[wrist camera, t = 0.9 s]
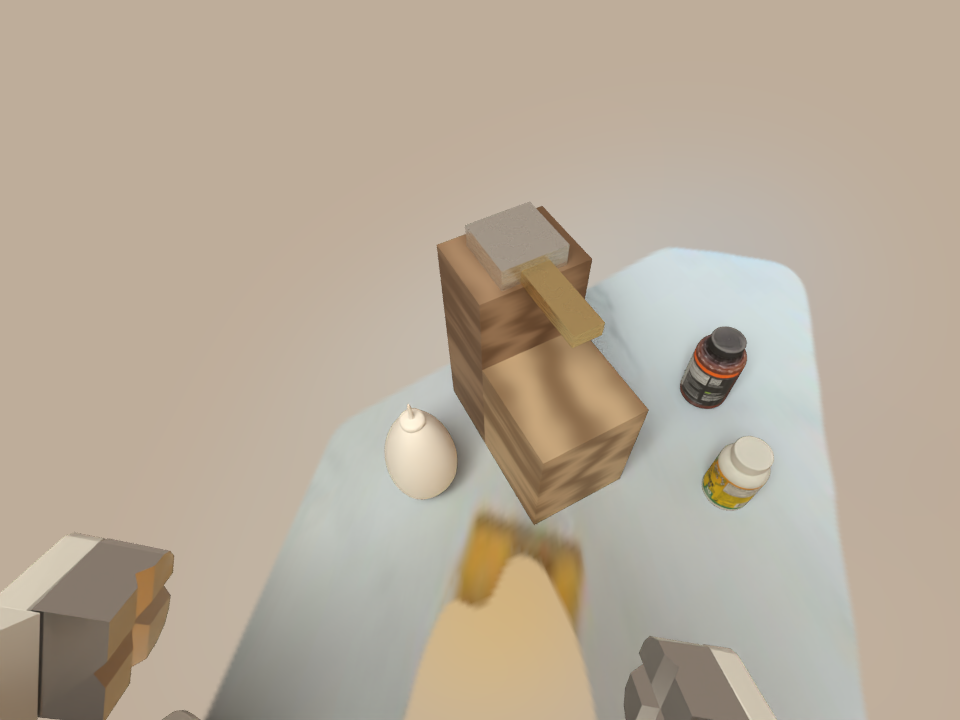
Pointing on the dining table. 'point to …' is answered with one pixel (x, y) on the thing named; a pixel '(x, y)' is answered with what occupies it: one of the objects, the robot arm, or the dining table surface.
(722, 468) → the supplement bottle
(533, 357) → the stepped stand
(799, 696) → the dining table surface
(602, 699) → the dining table surface
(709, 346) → the supplement bottle
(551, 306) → the lever cap
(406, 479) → the sauce bottle
